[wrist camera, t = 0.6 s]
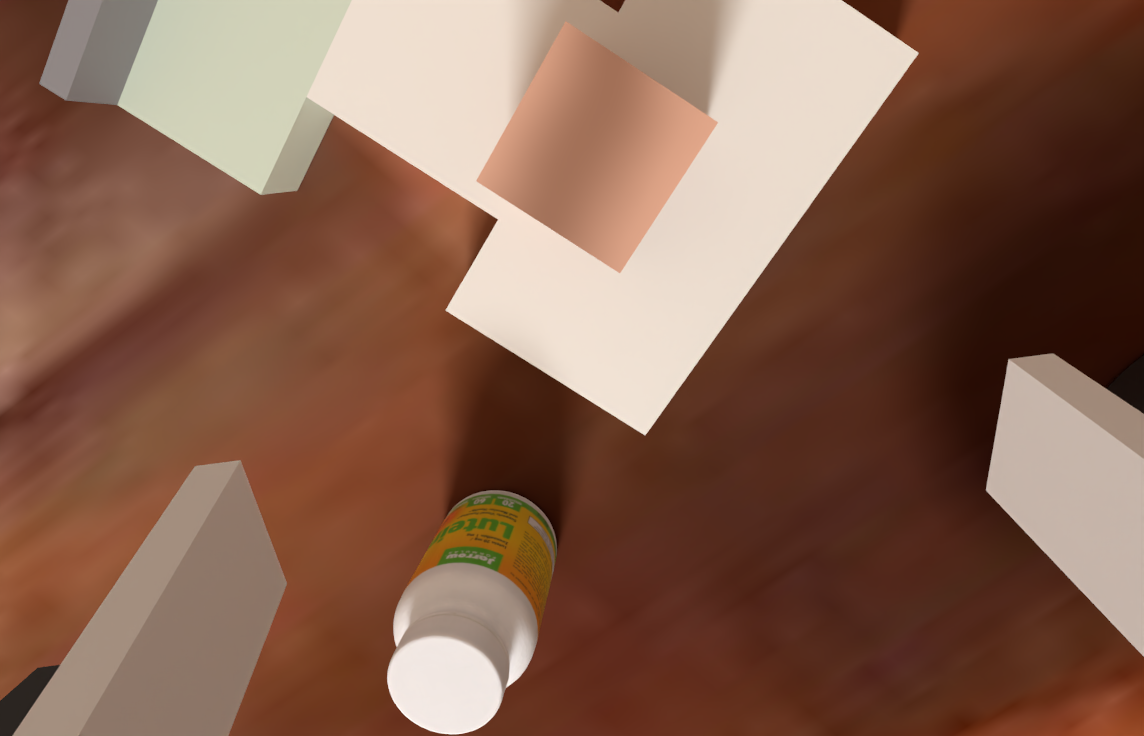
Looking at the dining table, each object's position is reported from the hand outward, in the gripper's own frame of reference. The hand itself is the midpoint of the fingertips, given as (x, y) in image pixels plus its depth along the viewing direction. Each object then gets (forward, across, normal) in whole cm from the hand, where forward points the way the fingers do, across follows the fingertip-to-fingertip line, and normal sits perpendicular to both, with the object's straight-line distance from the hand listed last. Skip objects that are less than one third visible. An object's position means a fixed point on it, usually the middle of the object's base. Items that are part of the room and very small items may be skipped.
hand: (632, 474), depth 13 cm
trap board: (+20, +2, -5) cm, 20 cm away
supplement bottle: (+17, +5, +14) cm, 22 cm away
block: (+16, -1, -2) cm, 16 cm away
